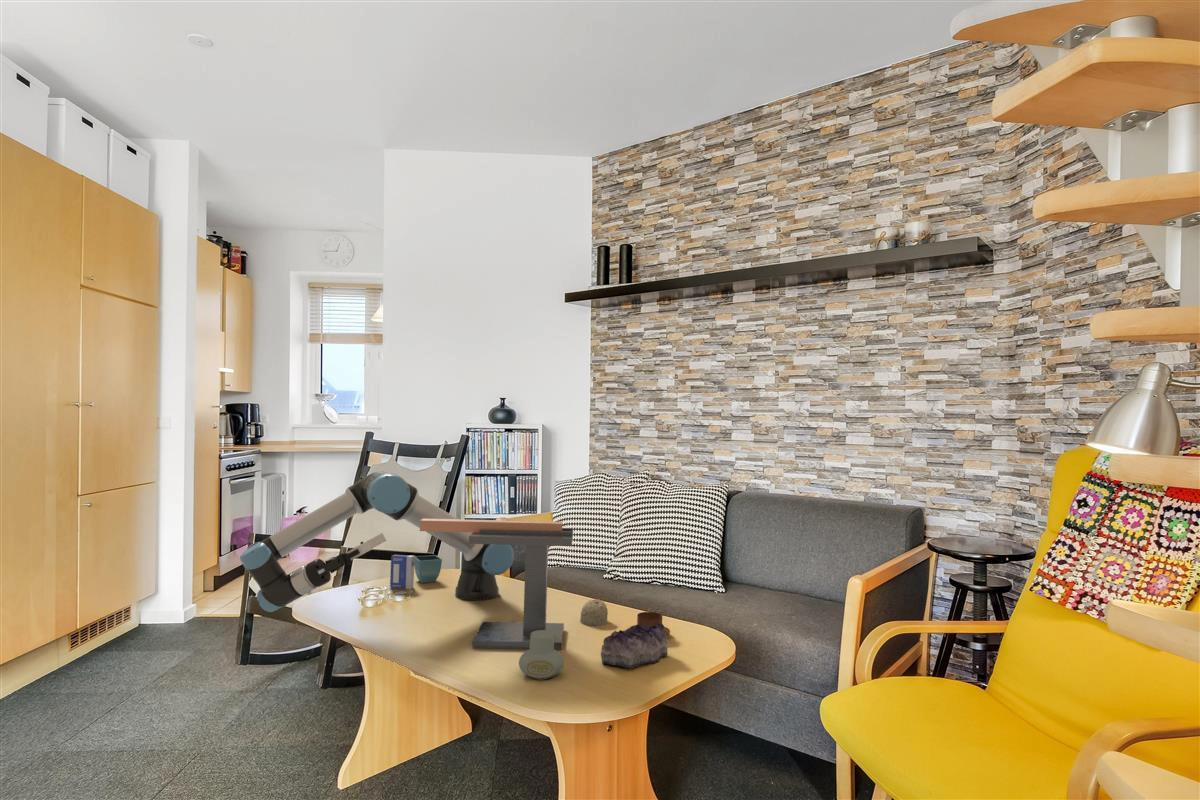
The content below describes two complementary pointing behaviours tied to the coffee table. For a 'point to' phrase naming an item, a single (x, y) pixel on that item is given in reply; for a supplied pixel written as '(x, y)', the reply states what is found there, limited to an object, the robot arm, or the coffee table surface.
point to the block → (486, 525)
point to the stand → (534, 590)
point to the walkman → (402, 571)
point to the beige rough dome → (594, 613)
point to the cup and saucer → (650, 620)
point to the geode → (635, 646)
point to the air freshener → (541, 656)
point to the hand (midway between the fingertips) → (377, 540)
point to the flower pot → (427, 568)
